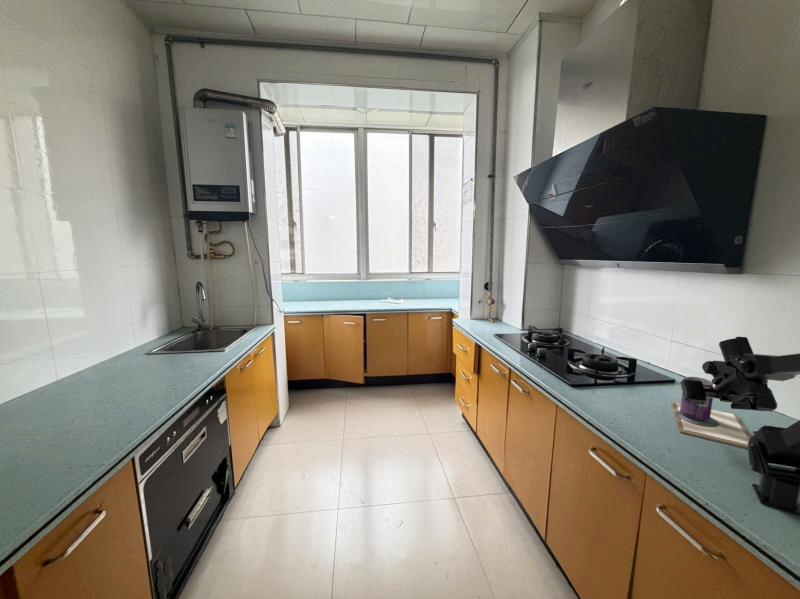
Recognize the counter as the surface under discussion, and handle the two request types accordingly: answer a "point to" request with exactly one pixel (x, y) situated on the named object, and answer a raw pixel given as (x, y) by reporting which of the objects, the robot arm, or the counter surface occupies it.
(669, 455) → the counter surface
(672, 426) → the counter surface
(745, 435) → the wooden tray
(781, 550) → the counter surface
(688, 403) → the beverage can
